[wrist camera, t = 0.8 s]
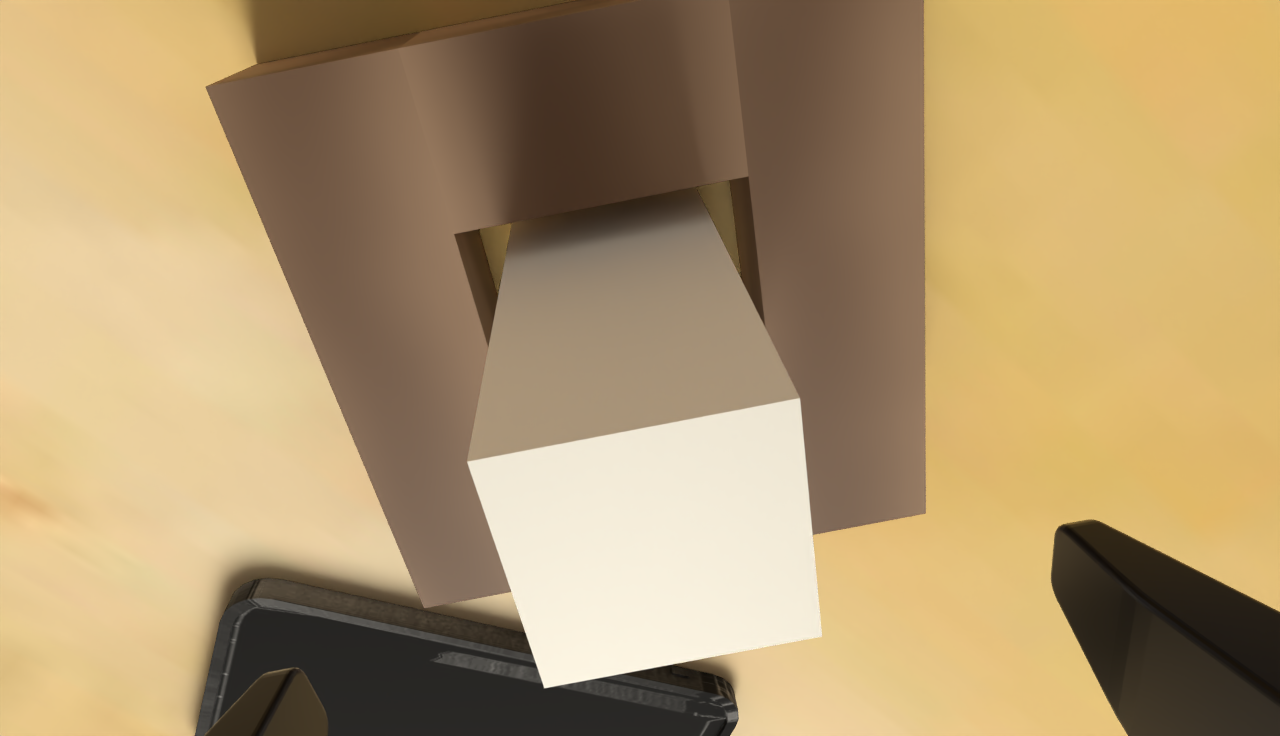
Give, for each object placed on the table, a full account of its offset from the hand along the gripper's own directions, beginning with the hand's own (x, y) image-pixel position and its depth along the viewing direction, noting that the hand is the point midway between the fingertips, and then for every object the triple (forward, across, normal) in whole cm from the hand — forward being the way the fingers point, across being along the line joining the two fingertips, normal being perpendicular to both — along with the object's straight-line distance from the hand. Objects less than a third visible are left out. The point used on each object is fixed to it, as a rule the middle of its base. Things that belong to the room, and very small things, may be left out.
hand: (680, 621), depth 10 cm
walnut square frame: (+10, 0, 0) cm, 10 cm away
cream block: (+10, 0, 0) cm, 10 cm away
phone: (+11, +7, +13) cm, 18 cm away
